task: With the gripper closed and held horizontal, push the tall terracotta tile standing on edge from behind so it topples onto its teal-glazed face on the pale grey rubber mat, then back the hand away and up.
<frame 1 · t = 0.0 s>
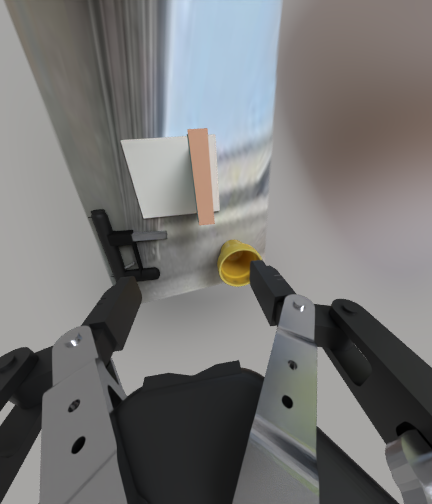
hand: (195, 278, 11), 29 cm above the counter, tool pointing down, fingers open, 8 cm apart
terracotta tile: (199, 178, 34), point 1 cm above the counter, touching grey mat
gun: (137, 246, 41), on the counter
plant pot: (231, 249, 44), on the counter
grey mat: (176, 179, 34), on the counter
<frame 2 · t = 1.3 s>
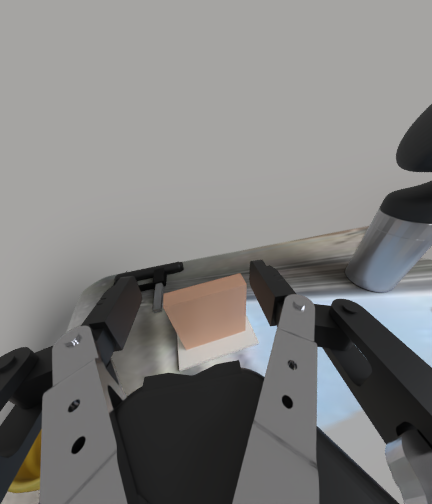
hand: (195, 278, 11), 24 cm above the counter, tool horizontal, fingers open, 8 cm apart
terracotta tile: (215, 334, 31), point 1 cm above the counter, touching grey mat
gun: (149, 291, 44), on the counter
plant pot: (106, 420, 23), on the counter
grey mat: (209, 313, 35), on the counter
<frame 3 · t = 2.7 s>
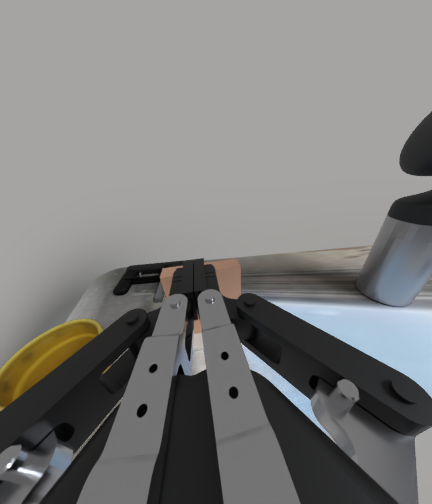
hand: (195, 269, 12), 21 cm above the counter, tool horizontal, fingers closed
terracotta tile: (209, 325, 31), point 1 cm above the counter, touching grey mat
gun: (155, 284, 45), on the counter
plant pot: (90, 390, 24), on the counter
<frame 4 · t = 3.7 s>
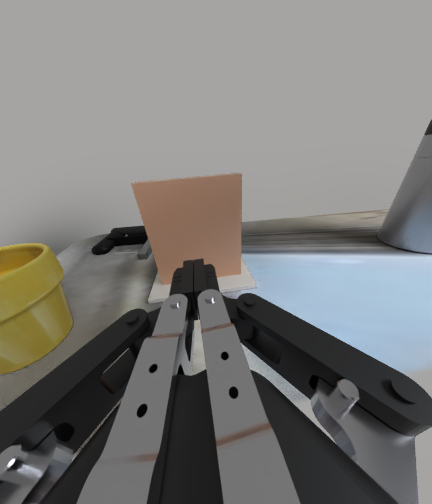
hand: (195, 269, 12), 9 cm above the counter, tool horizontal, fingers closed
terracotta tile: (202, 274, 25), point 1 cm above the counter, touching grey mat
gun: (142, 246, 39), on the counter
plant pot: (39, 340, 18), on the counter
grey mat: (201, 261, 29), on the counter
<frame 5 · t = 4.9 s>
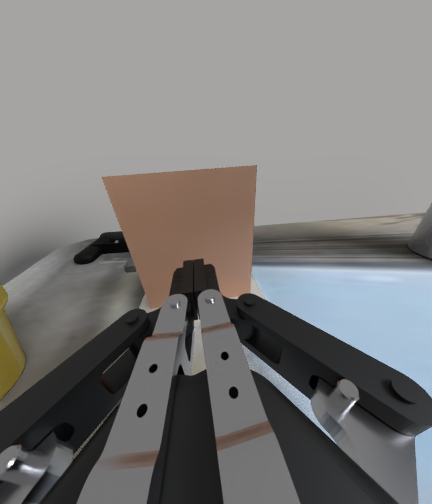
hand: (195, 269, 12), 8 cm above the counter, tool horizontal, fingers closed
terracotta tile: (201, 294, 20), point 1 cm above the counter, touching grey mat
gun: (133, 254, 34), on the counter
grey mat: (200, 275, 24), on the counter
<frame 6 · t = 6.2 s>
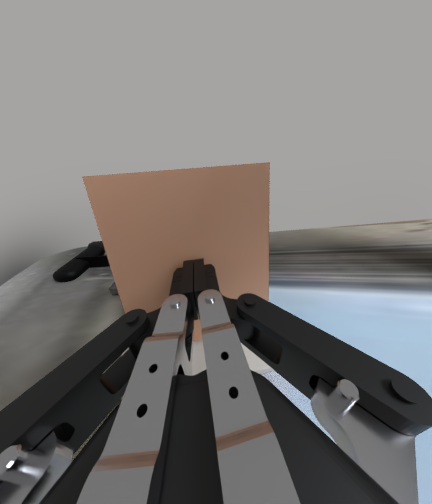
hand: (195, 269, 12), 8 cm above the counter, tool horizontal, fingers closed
terracotta tile: (204, 329, 15), point 1 cm above the counter, tilted 12°, touching grey mat
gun: (125, 268, 29), on the counter
grey mat: (202, 299, 20), on the counter
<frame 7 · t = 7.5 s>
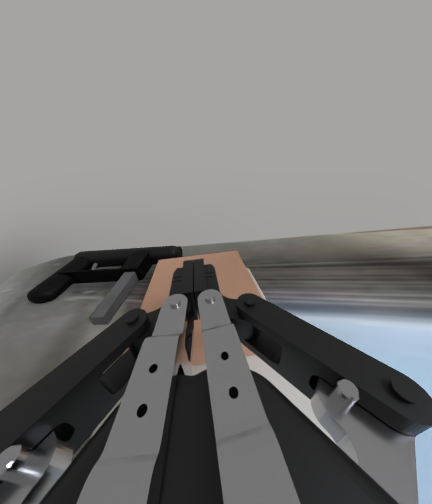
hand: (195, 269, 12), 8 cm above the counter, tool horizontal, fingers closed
terracotta tile: (205, 355, 12), point 2 cm above the counter, tilted 90°, touching grey mat
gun: (115, 284, 25), on the counter
grey mat: (205, 329, 16), on the counter
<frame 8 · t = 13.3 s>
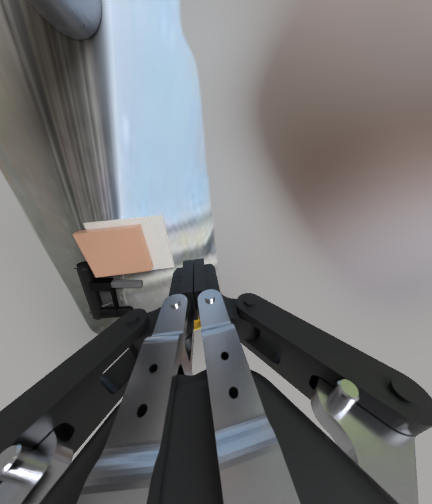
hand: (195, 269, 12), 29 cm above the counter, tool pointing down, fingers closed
terracotta tile: (146, 248, 39), point 2 cm above the counter, tilted 90°, touching grey mat
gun: (116, 289, 47), on the counter
grey mat: (134, 246, 41), on the counter
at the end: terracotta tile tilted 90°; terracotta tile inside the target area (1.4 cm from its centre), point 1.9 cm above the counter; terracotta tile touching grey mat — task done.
